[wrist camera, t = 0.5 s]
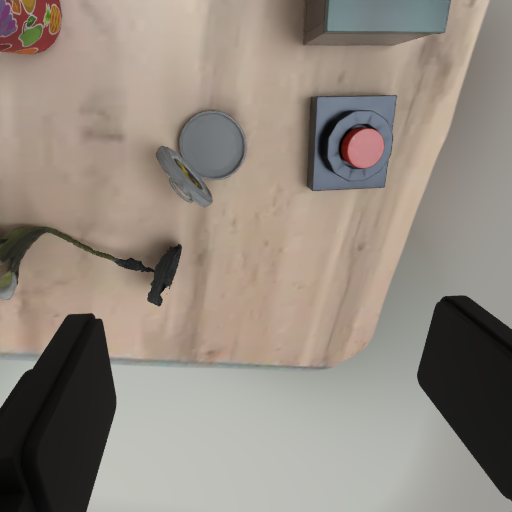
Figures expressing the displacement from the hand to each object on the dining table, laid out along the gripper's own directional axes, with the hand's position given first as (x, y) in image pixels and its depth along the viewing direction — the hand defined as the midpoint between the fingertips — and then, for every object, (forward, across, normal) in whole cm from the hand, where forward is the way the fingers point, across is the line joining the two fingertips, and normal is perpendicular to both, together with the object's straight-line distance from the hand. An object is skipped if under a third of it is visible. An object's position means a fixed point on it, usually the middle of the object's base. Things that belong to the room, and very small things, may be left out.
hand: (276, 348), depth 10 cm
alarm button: (+26, -13, -3) cm, 29 cm away
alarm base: (+30, -13, -3) cm, 32 cm away
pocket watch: (+30, +2, -2) cm, 30 cm away
